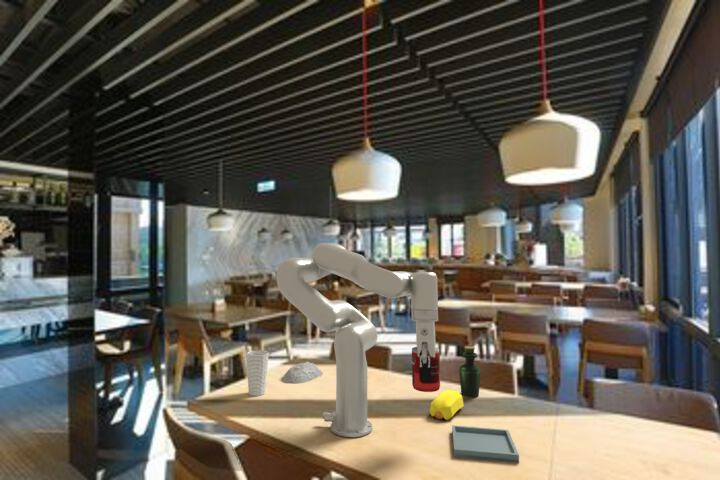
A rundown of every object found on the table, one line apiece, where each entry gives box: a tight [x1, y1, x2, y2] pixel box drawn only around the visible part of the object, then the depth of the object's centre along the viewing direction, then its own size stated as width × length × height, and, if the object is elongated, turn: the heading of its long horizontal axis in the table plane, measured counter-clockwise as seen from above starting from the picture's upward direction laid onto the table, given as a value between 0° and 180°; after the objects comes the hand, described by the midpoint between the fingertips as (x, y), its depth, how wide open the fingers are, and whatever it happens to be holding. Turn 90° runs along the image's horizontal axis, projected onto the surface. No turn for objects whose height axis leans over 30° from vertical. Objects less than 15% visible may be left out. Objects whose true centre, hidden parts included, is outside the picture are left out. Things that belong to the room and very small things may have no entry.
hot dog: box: [429, 389, 464, 421], centre depth 140 cm, size 18×7×8 cm
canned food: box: [411, 346, 441, 393], centre depth 117 cm, size 8×8×11 cm
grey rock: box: [280, 361, 324, 385], centre depth 182 cm, size 16×25×7 cm, turn 160°
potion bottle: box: [458, 345, 482, 398], centre depth 159 cm, size 8×8×18 cm
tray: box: [451, 425, 520, 464], centre depth 114 cm, size 16×16×2 cm
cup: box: [245, 349, 270, 397], centre depth 158 cm, size 8×8×16 cm
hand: (425, 377), depth 117 cm, fingers closed on canned food, 8 cm apart
